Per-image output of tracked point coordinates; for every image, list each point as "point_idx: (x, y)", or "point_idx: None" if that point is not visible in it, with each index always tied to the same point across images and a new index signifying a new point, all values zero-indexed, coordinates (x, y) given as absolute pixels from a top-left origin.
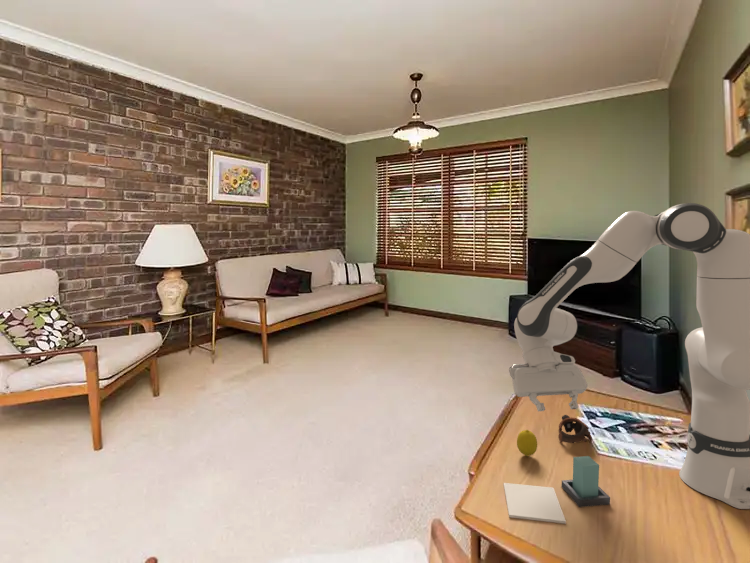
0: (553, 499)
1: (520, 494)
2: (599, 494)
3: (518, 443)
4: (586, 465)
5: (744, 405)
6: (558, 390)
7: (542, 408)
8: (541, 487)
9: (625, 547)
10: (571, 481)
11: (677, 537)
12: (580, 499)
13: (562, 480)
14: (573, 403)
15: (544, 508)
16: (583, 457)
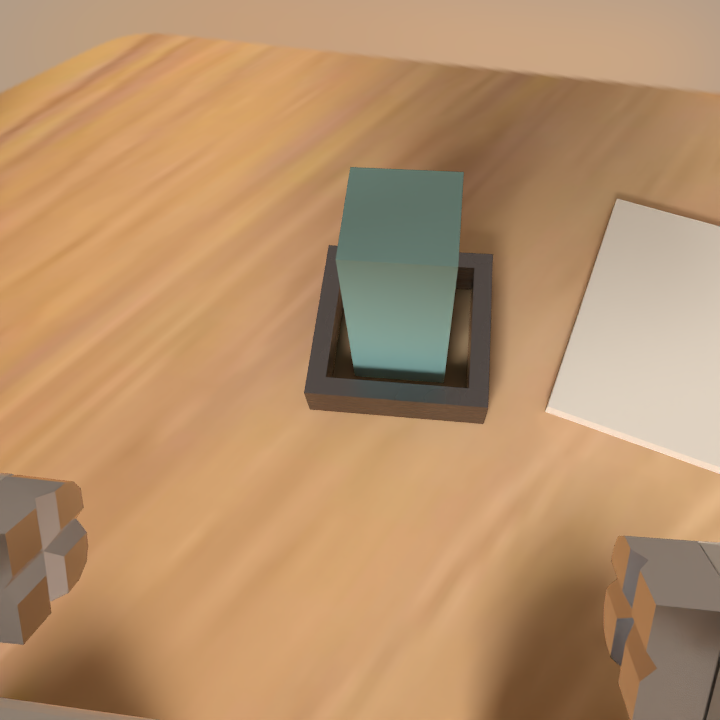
0: (600, 323)
1: None
2: (340, 306)
3: None
4: (435, 175)
5: None
6: (88, 714)
7: (680, 541)
8: (619, 421)
9: (456, 93)
10: (435, 388)
11: (240, 101)
12: (485, 258)
13: (482, 407)
14: (11, 507)
15: (680, 277)
16: (387, 251)
